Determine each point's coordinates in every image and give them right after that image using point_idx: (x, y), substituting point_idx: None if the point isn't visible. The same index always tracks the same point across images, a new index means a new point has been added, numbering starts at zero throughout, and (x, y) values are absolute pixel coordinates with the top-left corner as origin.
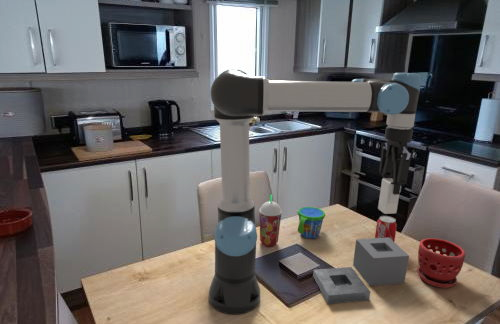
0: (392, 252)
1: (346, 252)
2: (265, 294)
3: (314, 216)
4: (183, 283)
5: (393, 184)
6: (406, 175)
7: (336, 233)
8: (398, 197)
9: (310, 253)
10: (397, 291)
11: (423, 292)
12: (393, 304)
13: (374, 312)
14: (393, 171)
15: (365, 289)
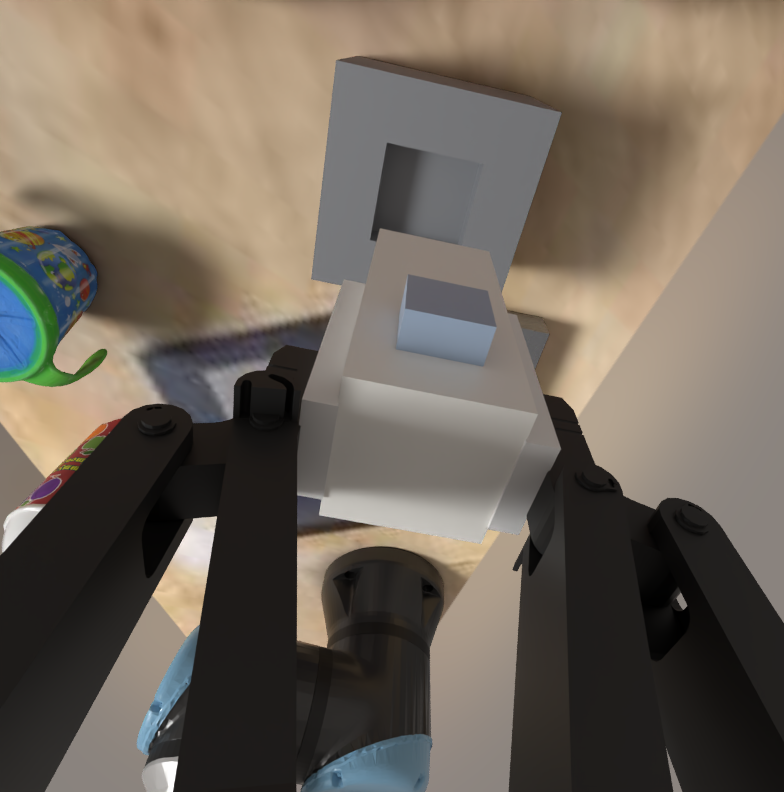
0: (491, 184)
1: (230, 192)
2: (397, 536)
3: (24, 326)
4: (304, 639)
5: (524, 516)
6: (778, 652)
7: (30, 119)
8: (506, 316)
9: (217, 343)
10: (556, 176)
11: (622, 56)
12: (602, 252)
13: (594, 339)
14: (522, 688)
15: (531, 341)
